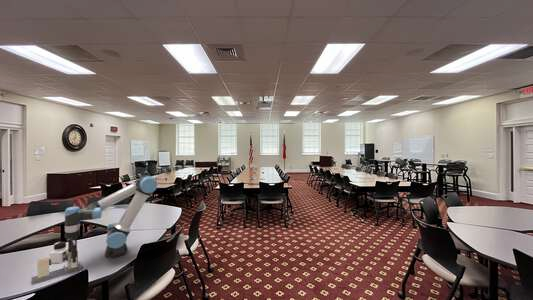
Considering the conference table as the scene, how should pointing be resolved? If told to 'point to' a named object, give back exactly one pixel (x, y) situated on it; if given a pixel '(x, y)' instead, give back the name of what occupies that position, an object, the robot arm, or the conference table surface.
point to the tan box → (70, 260)
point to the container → (59, 253)
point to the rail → (46, 275)
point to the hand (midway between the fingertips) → (72, 264)
